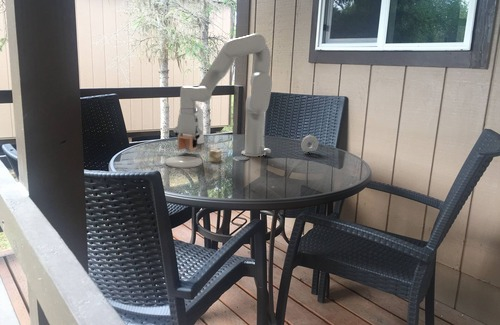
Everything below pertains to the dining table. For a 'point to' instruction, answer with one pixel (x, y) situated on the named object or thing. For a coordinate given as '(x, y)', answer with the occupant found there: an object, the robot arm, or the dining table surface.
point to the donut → (305, 142)
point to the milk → (200, 122)
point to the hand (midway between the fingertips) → (187, 146)
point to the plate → (183, 162)
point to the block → (215, 155)
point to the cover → (186, 142)
